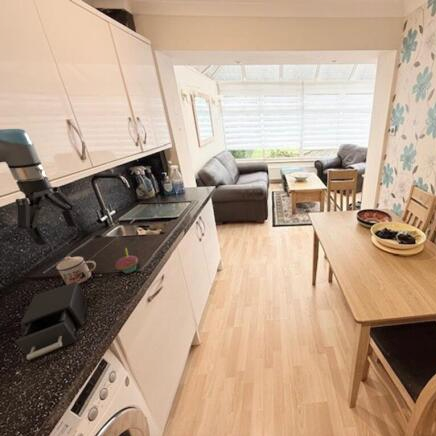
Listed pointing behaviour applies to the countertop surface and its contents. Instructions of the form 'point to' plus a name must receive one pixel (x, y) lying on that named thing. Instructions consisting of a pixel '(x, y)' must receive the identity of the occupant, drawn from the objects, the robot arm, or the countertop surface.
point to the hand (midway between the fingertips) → (58, 234)
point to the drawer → (48, 334)
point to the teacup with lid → (74, 269)
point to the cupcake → (127, 263)
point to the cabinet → (57, 304)
